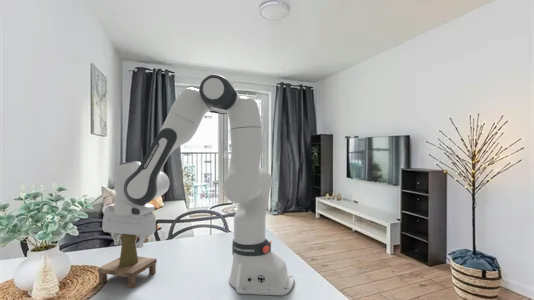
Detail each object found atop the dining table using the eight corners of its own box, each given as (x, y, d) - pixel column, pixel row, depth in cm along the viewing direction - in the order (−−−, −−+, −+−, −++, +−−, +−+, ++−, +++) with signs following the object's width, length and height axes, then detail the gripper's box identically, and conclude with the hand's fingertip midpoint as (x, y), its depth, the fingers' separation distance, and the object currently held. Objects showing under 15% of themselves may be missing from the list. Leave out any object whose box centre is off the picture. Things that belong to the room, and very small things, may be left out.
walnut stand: (156, 272, 99) (156, 258, 99) (132, 288, 87) (132, 273, 87) (125, 267, 102) (125, 254, 102) (97, 282, 91) (98, 268, 91)
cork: (115, 266, 92) (115, 234, 92) (126, 259, 98) (126, 229, 98) (130, 267, 91) (130, 235, 91) (141, 260, 97) (141, 230, 97)
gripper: (97, 207, 94) (97, 246, 94) (146, 210, 89) (146, 252, 89) (112, 203, 100) (112, 240, 100) (158, 206, 95) (158, 245, 95)
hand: (128, 245), depth 95 cm, fingers open, 8 cm apart
